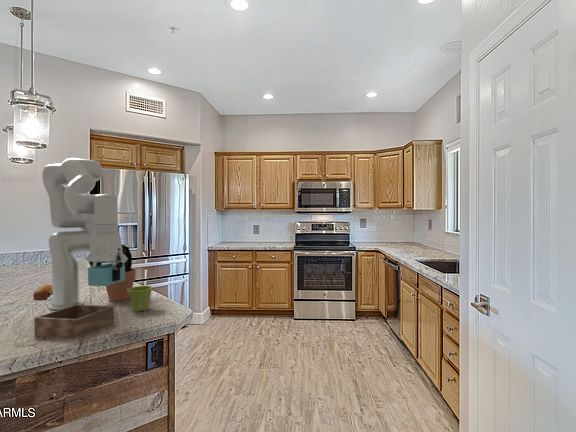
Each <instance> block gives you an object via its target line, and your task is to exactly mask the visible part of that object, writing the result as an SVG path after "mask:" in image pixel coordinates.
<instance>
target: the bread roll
mask: <svg viewBox="0 0 576 432" xmlns="http://www.w3.org/2000/svg"><path fill="white" fill-rule="evenodd" d="M32 296H33V299H34V300H37V301H42V300H44V301H45V300H47V298H49V297H50V296H53V288H52V284H44V285H40V286H38V287H37V288H36V289H35V290H34V292H33V295H32Z"/></svg>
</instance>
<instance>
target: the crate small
mask: <svg viewBox="0 0 576 432" xmlns="http://www.w3.org/2000/svg"><path fill="white" fill-rule="evenodd" d="M116 265H117V264H116ZM112 270H114V268H113V266H112V264H111V263H105V264H101V265H100V266H95V267H92V266H91V267H90V266H89V267H87V286H91V287H106V286H108V285H111V284H115V283H118V282H121V281H125V264H124V265H123V266H122V268H121V269H120V280H118V281H113V280H112Z"/></svg>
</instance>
